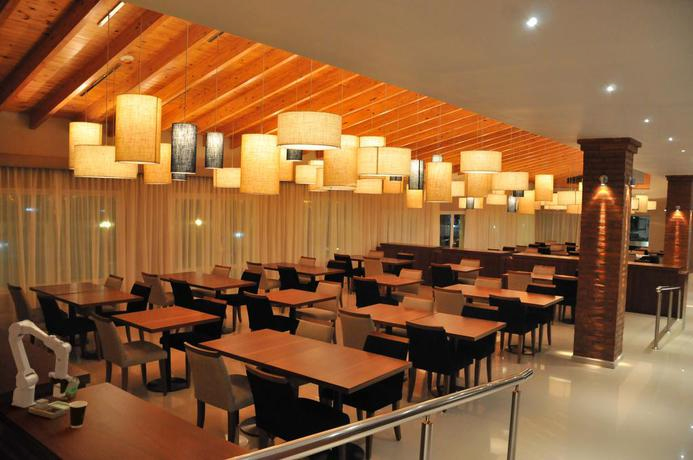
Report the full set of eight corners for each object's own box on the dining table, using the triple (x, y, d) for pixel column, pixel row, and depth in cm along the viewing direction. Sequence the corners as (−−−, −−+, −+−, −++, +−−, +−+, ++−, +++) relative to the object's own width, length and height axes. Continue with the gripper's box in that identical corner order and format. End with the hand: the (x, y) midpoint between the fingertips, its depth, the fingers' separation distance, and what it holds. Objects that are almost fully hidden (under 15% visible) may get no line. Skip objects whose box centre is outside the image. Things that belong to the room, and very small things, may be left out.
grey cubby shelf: (28, 413, 263) (28, 407, 263) (42, 408, 271) (42, 402, 271) (52, 419, 258) (52, 413, 258) (65, 414, 266) (66, 408, 266)
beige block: (34, 412, 265) (35, 400, 265) (41, 410, 269) (42, 398, 268) (40, 414, 263) (41, 402, 263) (47, 411, 267) (48, 400, 267)
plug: (52, 396, 271) (53, 384, 271) (59, 394, 275) (60, 382, 275) (58, 397, 270) (59, 386, 270) (65, 395, 274) (66, 384, 274)
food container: (70, 402, 282) (72, 384, 282) (59, 401, 282) (61, 383, 282) (82, 395, 294) (84, 377, 294) (71, 394, 294) (73, 376, 294)
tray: (41, 408, 270) (42, 406, 270) (57, 403, 279) (57, 400, 279) (58, 413, 266) (59, 410, 266) (74, 407, 275) (74, 404, 275)
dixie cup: (86, 428, 252) (88, 405, 252) (68, 430, 248) (70, 407, 248) (84, 421, 259) (86, 400, 259) (66, 424, 254) (68, 401, 254)
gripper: (44, 365, 271) (42, 391, 271) (65, 370, 266) (63, 397, 266) (55, 362, 278) (53, 388, 278) (77, 367, 273) (74, 393, 273)
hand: (59, 392), depth 273 cm, fingers closed on plug, 4 cm apart
